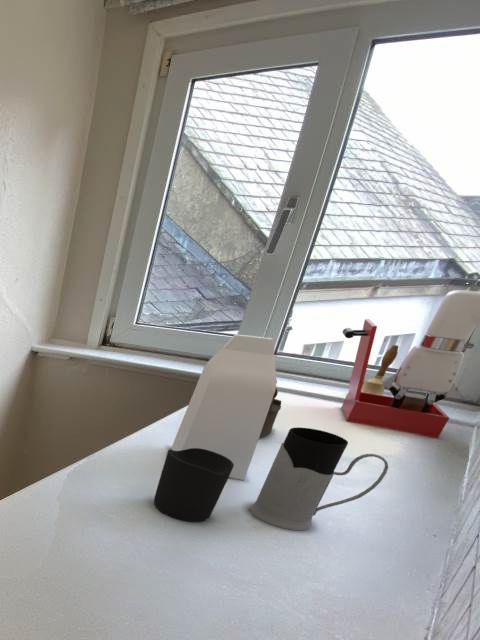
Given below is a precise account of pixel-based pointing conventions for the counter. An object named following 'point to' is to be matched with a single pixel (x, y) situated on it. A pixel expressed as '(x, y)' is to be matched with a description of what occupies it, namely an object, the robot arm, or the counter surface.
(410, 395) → the block
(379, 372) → the hand bell
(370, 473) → the counter surface
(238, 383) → the milk
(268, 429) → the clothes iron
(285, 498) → the glass holder
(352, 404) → the red shallow rectangular box
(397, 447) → the counter surface
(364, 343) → the lid
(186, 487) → the pen holder
